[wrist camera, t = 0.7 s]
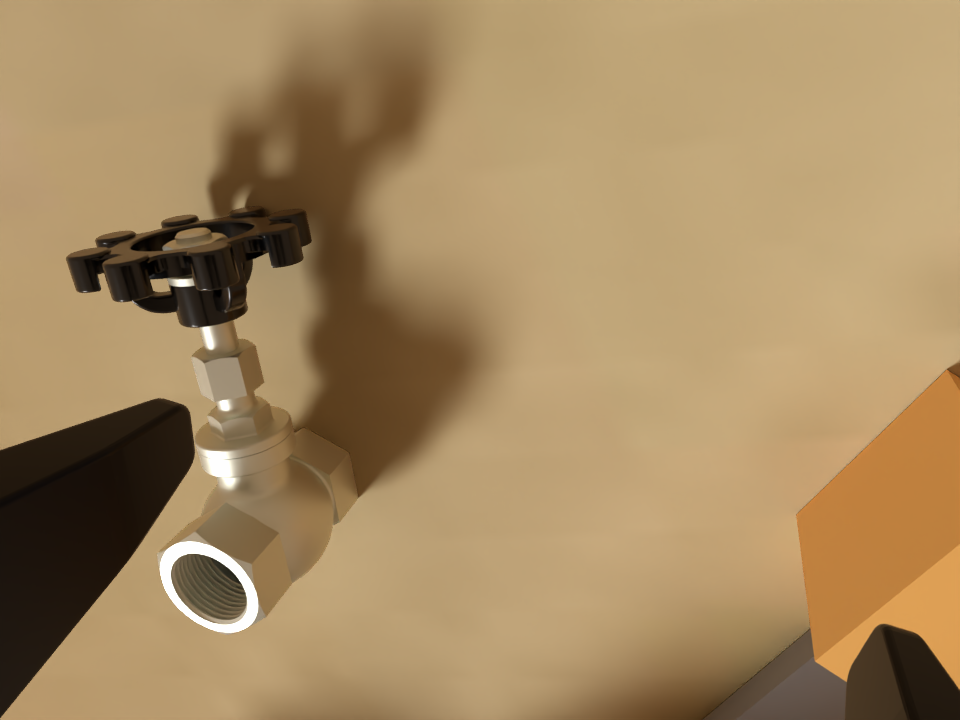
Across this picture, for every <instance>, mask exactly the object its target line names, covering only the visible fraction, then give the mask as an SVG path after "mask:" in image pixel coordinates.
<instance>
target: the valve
mask: <svg viewBox="0 0 960 720" xmlns="http://www.w3.org/2000/svg"><path fill="white" fill-rule="evenodd" d="M161 226H162V229H158V230H154V231H151V232H146V233H141V234H136V233H135V232H133V231H119V232H114V233H109V234H105V235H102V236H99V237H98V238H96V240H95V242H96V245H97V248H90V249H85V250H81V251H77V252H74V253H71V254H69V255H68V256H67V257H66V261H67V264H68V267H69V270H70V273H71V276H72V279H73V282H74V285H75V288H76V291H78V292H80V293H90V292H97V291H100V290H101V286H100V283H99V278H98V274H101V273H104V274H105V277H106V281H107V284H108V287H109V290H110V293H111V297H112V299H113V300H114V301H116V302H129V301H132V302H133V303H134V304H136V305H137V306H139V307H140V308H142V309H145V310H147V311H150V312H154V313H171V312H176V313H177V316H178V320H179V323H180V324H181V325H183V326H185V327H191V328H199V329H200V333H201V336H202V340H203V344H204V347H202V348H200V349H199V350H197V351H196V352H195V353H194V354H193V355H192V356H191V359H192V363H193V366H194V370H195V374H196V377H197V381H198V384H199V388H200V392H201V394H202V395H203V396H205V397H207V398H208V399H210V400H212V401H214V402H216V403H217V406H216V407H215V408H214V409H213V410H211V412H210V413H209V414H208V415H207V417H208V420H209V422H208V423H206V424H205V425H204V426H203V427H201V428H200V429H199V431H198V432H197V433H196V436H195V444H196V448H197V451H198V454H199V458H200V461H201V465H202V468H203V470H204V471H206V472H207V473H208V474H210V475H213V476H216V477H217V480H218V484H217V485H216V487H215V488H214V489H213V491H212V492H211V494H210V495H209V497H208V498H207V500H206V502H205V505H204V508H203V510H202V513H201V517H200V518H198V519H196V520H195V521H193V522H191V523H189V524H188V525H187V526H186V527H185V528H184V529H183V530H182V531H181V532H180V533H178V534H177V535H176V536H175V537H174V538H173V539H172V540H171V541H170V542H169V543H168V544H167V545H166V546H165V547H164V548H162V549H161V550H160V551H159V552H158V553H157V556H158V564H159V570H160V574H161V578H162V582H163V584H164V587H165V589H166V591H167V594H168V595H169V597H170V599H171V600H172V602H173V603H174V604H175V605H176V606H177V607H178V608H179V609H180V610H181V611H182V612H183V613H184V614H185V615H187V616H188V617H190V618H191V619H192V620H194V621H195V622H197V623H199V624H201V625H203V626H205V627H207V628H209V629H211V630H214V631H216V632H219V633H222V634H226V635H228V634H232V633H236V632H238V631H241V630H243V629H245V628H247V627H249V626H251V625H253V624H255V623H257V622H258V621H260V620H262V619H263V618H265V617H267V615H268V614H269V613H270V611H271V610H272V609H273V607H274V606H275V605H276V604H277V602H278V601H279V600H280V598H281V597H282V596H283V595H284V593H285V592H286V591H287V589H288V588H289V587H290V586H291V584H292V583H293V582H295V581H296V580H298V579H299V578H301V577H302V576H303V575H305V574H306V573H307V572H308V571H309V570H310V569H311V568H312V567H313V566H314V565H315V564H316V563H317V561H318V560H319V559H320V558H321V556H322V554H323V552H324V551H325V549H326V547H327V545H328V542H329V540H330V536H331V532H332V528H333V525H335V524H337V523H339V522H340V521H341V520H342V518H343V517H344V516H345V515H346V513H347V512H348V511H349V509H350V508H351V507H352V506H353V504H354V503H355V502H356V500H357V499H358V492H357V487H356V483H355V478H354V473H353V468H352V463H351V458H350V454H349V453H348V452H347V451H346V450H344V449H342V448H340V447H339V446H337V445H335V444H333V443H331V442H330V441H328V440H326V439H324V438H322V437H321V436H319V435H317V434H315V433H313V432H312V431H310V430H308V429H306V428H302V429H300V430H298V431H297V432H295V433H294V429H293V425H292V421H291V417H290V414H289V413H288V412H287V411H285V410H284V409H281V408H279V407H274V406H270V404H269V403H268V402H267V401H266V400H264V399H263V398H261V397H258V396H255V394H254V390H255V389H257V388H258V387H259V386H261V385H262V384H263V383H264V379H263V375H262V370H261V366H260V362H259V358H258V354H257V350H256V346H255V345H254V344H253V343H252V342H250V341H248V340H245V339H238V337H237V333H236V329H235V325H234V321H233V320H235V319H237V318H239V317H241V316H242V315H244V314H245V313H246V312H247V310H248V306H247V302H246V296H247V288H246V285H247V283H248V281H249V279H250V276H251V272H252V266H253V259H254V258H257V257H259V256H262V255H264V254H266V253H268V252H269V256H270V261H271V265H272V267H273V268H278V267H285V266H290V265H293V264H296V263H299V262H300V261H302V260H303V252H302V247H303V246H306V245H308V244H310V243H311V241H312V239H311V234H310V229H309V224H308V219H307V214H306V211H305V210H303V209H290V210H283V211H279V212H275V213H272V214H270V215H269V217H266V212H265V209H264V208H263V207H261V206H252V207H245V208H240V209H236V210H233V211H231V212H230V213H229V216H227V217H224V218H218V219H211V220H203V221H199V218H198V216H196V215H182V216H176V217H172V218H168V219H165V220H163V221H162V222H161ZM163 278H167V281H168V284H169V288H170V291H167V292H155V291H153V289H152V285H151V282H150V279H163Z"/></svg>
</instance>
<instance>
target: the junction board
mask: <svg viewBox="0 0 960 720" xmlns="http://www.w3.org/2000/svg"><path fill="white" fill-rule="evenodd" d="M846 683H847V682H846V681H844V680H843V679H841V678H840V677H838V676H837V675H835V674H834V673H832V672H830V671H829V670H827V669H826V668H824V667H823V666H821V665H820V664H818V663H817V662H815V659H814V651H813V643H812V635H811V629H810V630H809V631H807V632H806V633H805V634H804V635H803V636H801V637H800V638H799V639H798V640H797V641H795V642H794V643H793V644H792V645H791V646H789V647H788V648H787V649H786V650H785V651H784V652H782V653H781V654H780V655H779V656H778V657H776V658H775V659H774V660H773V661H772V662H770V663H769V664H768V665H767V666H766V667H765V668H763V669H762V670H761V671H760V672H759V673H757V674H756V675H755V676H754V677H753V678H751V679H750V680H749V681H748V682H747V683H746V684H744V685H743V686H742V687H741V688H740V689H738V690H737V691H736V692H735V693H734V694H732V695H731V696H730V697H729V698H728V699H727V700H725V701H724V702H723V703H722V704H721V705H719V706H718V707H717V708H716V709H715V710H713V711H712V712H711V713H710V714H709V715H708V716H706V717H705V718H704V719H703V720H845V701H846Z"/></svg>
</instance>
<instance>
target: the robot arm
mask: <svg viewBox="0 0 960 720" xmlns="http://www.w3.org/2000/svg"><path fill="white" fill-rule="evenodd" d="M194 455H195V447H194V439H193V431H192V424H191V416H190V412H189V410H188V408H187V407H186V406H184V405H182V404H179V403H176V402H173V401H170V400H166V399H161V398H158V399H153V400H150V401H147V402H144V403H141V404H138V405H135V406H132V407H129V408H126V409H123V410H120V411H117V412H114V413H111V414H108V415H105V416H102V417H99V418H96V419H93V420H90V421H87V422H84V423H81V424H78V425H75V426H72V427H69V428H66V429H63V430H60V431H57V432H54V433H51V434H48V435H45V436H42V437H39V438H36V439H33V440H30V441H27V442H24V443H21V444H18V445H15V446H12V447H9V448H6V449H3V450H0V718H1V716H2V715H3V714H4V713H5V712H6V710H7V709H8V708H9V707H10V705H11V704H12V703H13V702H14V701H15V699H16V698H17V697H18V696H19V694H20V693H21V692H22V691H23V690H24V688H25V687H26V686H27V685H28V683H29V682H30V681H31V680H32V679H33V677H34V676H35V675H36V674H37V672H38V671H39V670H40V669H41V667H42V666H43V665H44V664H45V663H46V661H47V660H48V659H49V658H50V656H51V655H52V654H53V653H54V652H55V650H56V649H57V648H58V647H59V645H60V644H61V643H62V642H63V641H64V639H65V638H66V637H67V636H68V634H69V633H70V632H71V631H72V629H73V628H74V627H75V626H76V625H77V623H78V622H79V621H80V620H81V618H82V617H83V616H84V615H85V614H86V612H87V611H88V610H89V609H90V607H91V606H92V605H93V604H94V603H95V601H96V600H97V599H98V598H99V596H100V595H101V594H102V593H103V591H104V590H105V589H106V588H107V587H108V585H109V584H110V583H111V582H112V580H113V579H114V578H115V577H116V576H117V574H118V573H119V572H120V571H121V569H122V568H123V567H124V565H125V564H126V563H127V562H128V560H129V559H130V558H131V556H132V555H133V554H134V552H135V551H136V549H137V548H138V546H139V545H140V544H141V542H142V541H143V539H144V538H145V536H146V535H147V533H148V532H149V530H150V529H151V527H152V525H153V524H154V522H155V521H156V519H157V518H158V516H159V515H160V513H161V512H162V510H163V509H164V507H165V506H166V504H167V503H168V501H169V500H170V498H171V497H172V495H173V494H174V492H175V491H176V489H177V487H178V486H179V484H180V483H181V481H182V480H183V478H184V477H185V475H186V474H187V472H188V471H189V469H190V467H191V465H192V463H193V460H194ZM845 720H960V689H959V688H958V686H957V685H956V684H955V682H954V681H953V679H952V678H951V677H950V675H949V674H948V673H947V671H946V670H945V668H944V667H943V666H942V664H941V663H940V661H939V660H938V659H937V657H936V656H935V654H934V653H933V652H932V650H931V649H930V648H929V646H928V645H927V643H926V642H925V641H924V640H923V638H922V637H920V636H919V635H918V634H916V633H914V632H911V631H908V630H905V629H902V628H899V627H895V626H892V625H889V624H879V625H878V626H876V627H875V628H874V630H873V631H872V633H871V634H870V636H869V638H868V639H867V641H866V642H865V644H864V646H863V647H862V649H861V650H860V652H859V654H858V655H857V657H856V659H855V660H854V662H853V663H852V665H851V668H850V670H849V673H848V677H847V683H846V701H845Z"/></svg>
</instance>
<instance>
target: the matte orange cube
mask: <svg viewBox="0 0 960 720" xmlns="http://www.w3.org/2000/svg"><path fill="white" fill-rule="evenodd" d="M796 516H797V524H798V532H799V540H800V548H801V556H802V564H803V572H804V580H805V588H806V596H807V604H808V612H809V619H810V627H811V635H812V643H813V651H814V659H815V662H817V663H818V664H820V665H821V666H823V667H824V668H826V669H827V670H829V671H830V672H832V673H834V674H835V675H837V676H838V677H840V678H841V679H843V680H844V681H846V682H847V677H848V673H849V670H850V668H851V665H852V663H853V662H854V660H855V659H856V657H857V655H858V654H859V652H860V650H861V649H862V647H863V646H864V644H865V642H866V641H867V639H868V638H869V636H870V634H871V633H872V631H873V630H874V628H875V627H876V626H878V625H879V624H889V625H892V626H895V627H899V628H902V629H905V630H908V631H911V632H914V633H916V634H918V635H919V636H920V637H922V638H923V640H924V641H925V642H926V643H927V645H928V646H929V648H930V649H931V650H932V652H933V653H934V654H935V656H936V657H937V659H938V660H939V661H940V663H941V664H942V666H943V667H944V668H945V670H946V671H947V673H948V674H949V675H950V677H951V678H952V679H953V681H954V682H955V684H956V685H957V686H958V688H959V689H960V378H959V377H957V376H956V375H954V374H953V373H951V372H950V371H948V370H946V371H945V372H944V373H943V374H942V375H941V376H940V377H939V378H938V379H937V380H936V381H935V382H934V383H933V384H932V385H930V386H929V387H928V388H927V389H926V390H925V391H924V392H923V393H922V394H921V395H920V396H919V397H918V398H917V399H916V400H915V401H914V402H913V403H912V404H911V405H910V406H909V407H908V408H907V409H906V410H905V411H904V412H902V413H901V414H900V415H899V416H898V417H897V418H896V419H895V420H894V421H893V422H892V423H891V424H890V425H889V426H888V427H887V428H886V429H885V430H884V431H883V432H882V433H881V434H880V435H879V436H878V437H877V438H875V439H874V440H873V441H872V442H871V443H870V444H869V445H868V446H867V447H866V448H865V449H864V450H863V451H862V452H861V453H860V454H859V455H858V456H857V457H856V458H855V459H854V460H853V461H852V462H851V463H850V464H849V465H847V466H846V467H845V468H844V469H843V470H842V471H841V472H840V473H839V474H838V475H837V476H836V477H835V478H834V479H833V480H832V481H831V482H830V483H829V484H828V485H827V486H826V487H825V488H824V489H823V490H822V491H820V492H819V493H818V494H817V495H816V496H815V497H814V498H813V499H812V500H811V501H810V502H809V503H808V504H807V505H806V506H805V507H804V508H803V509H802V510H801V511H800V512H799V513H798V514H797V515H796Z"/></svg>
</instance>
